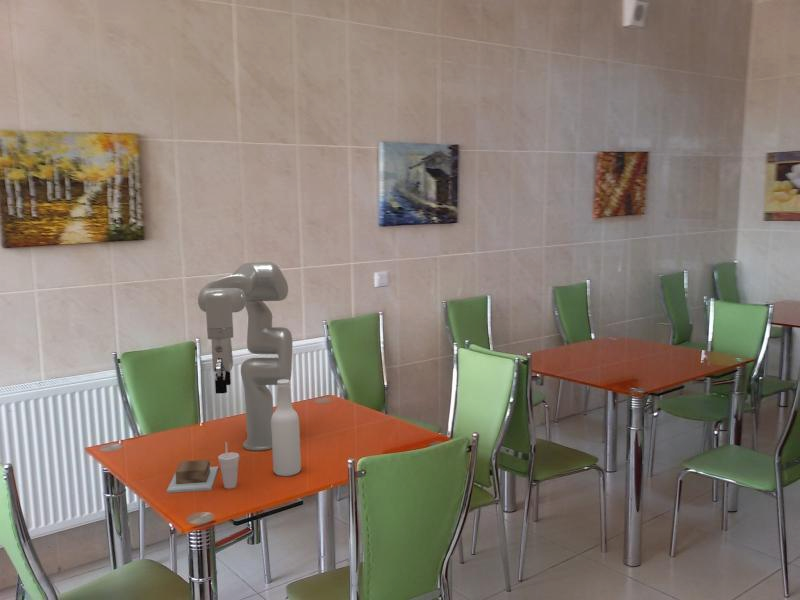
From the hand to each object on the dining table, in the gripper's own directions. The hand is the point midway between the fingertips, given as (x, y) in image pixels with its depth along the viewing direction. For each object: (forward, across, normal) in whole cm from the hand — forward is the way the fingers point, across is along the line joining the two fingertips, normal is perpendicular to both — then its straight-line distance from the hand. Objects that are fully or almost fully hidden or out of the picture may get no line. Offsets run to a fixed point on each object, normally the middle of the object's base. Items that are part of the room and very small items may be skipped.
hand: (223, 388), depth 221 cm
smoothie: (+31, 0, 0) cm, 31 cm away
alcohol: (+31, +9, -17) cm, 36 cm away
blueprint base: (+31, +7, +12) cm, 33 cm away
